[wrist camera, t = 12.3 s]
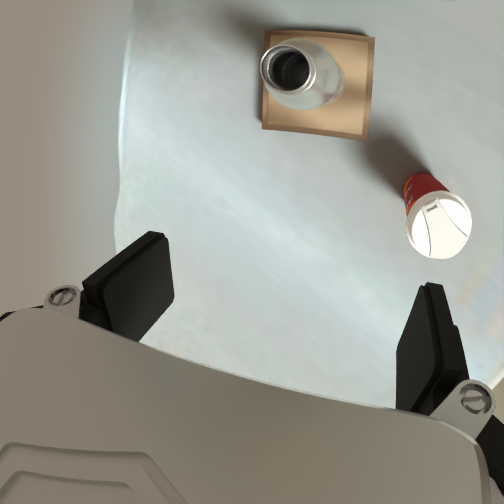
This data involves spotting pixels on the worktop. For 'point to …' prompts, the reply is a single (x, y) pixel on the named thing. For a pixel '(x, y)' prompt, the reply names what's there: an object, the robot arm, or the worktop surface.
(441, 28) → the worktop surface
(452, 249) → the paper cup
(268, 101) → the plinth
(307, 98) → the plastic bottle
